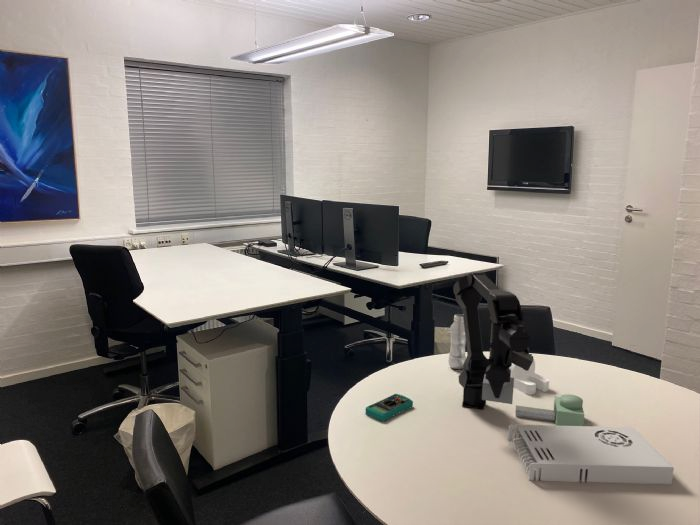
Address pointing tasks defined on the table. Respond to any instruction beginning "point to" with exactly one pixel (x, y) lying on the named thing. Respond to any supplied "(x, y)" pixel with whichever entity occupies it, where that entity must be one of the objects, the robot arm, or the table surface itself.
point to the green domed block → (557, 411)
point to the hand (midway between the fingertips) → (497, 392)
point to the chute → (505, 394)
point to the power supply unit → (589, 454)
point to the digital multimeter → (389, 407)
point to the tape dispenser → (528, 379)
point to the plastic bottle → (457, 343)
